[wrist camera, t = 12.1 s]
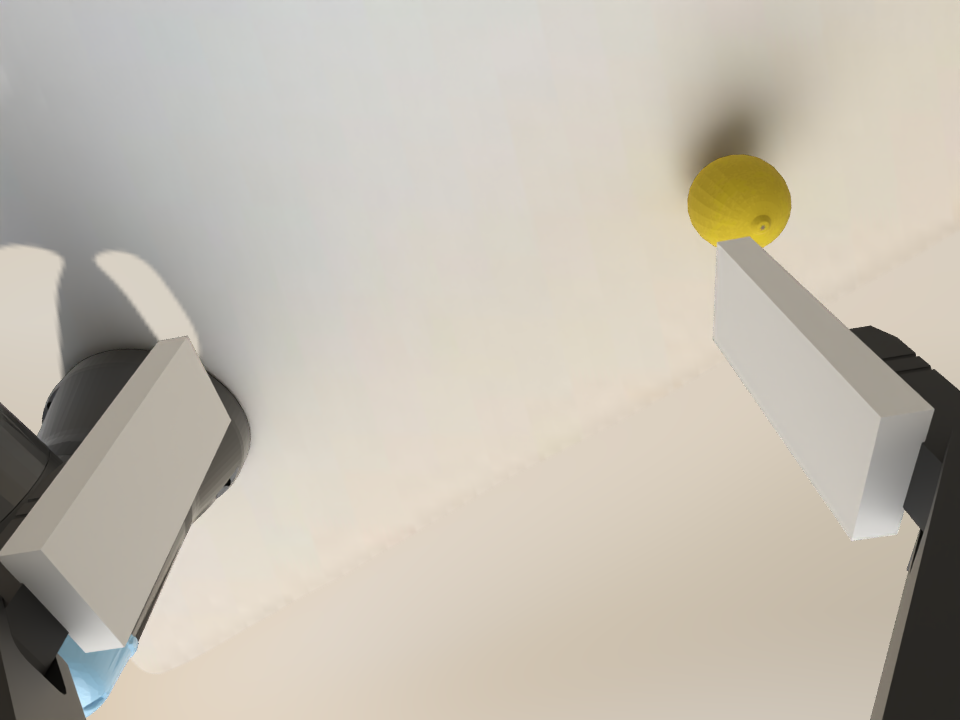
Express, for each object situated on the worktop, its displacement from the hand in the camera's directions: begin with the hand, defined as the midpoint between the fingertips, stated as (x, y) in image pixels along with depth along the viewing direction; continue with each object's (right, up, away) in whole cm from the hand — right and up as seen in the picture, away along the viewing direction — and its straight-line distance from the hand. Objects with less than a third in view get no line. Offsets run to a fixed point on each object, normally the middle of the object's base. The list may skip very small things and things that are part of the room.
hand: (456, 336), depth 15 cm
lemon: (+16, +11, +26) cm, 33 cm away
